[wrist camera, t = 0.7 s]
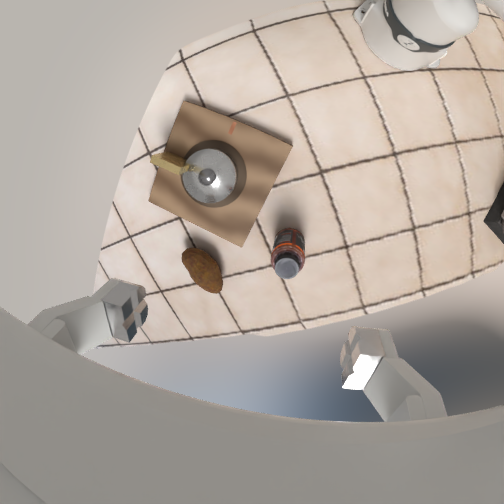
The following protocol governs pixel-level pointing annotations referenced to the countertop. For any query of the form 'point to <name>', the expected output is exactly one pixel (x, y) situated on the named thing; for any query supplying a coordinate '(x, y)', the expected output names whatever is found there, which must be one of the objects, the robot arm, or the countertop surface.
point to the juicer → (497, 215)
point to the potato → (203, 269)
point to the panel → (247, 162)
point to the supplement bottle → (288, 253)
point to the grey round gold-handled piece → (202, 173)
